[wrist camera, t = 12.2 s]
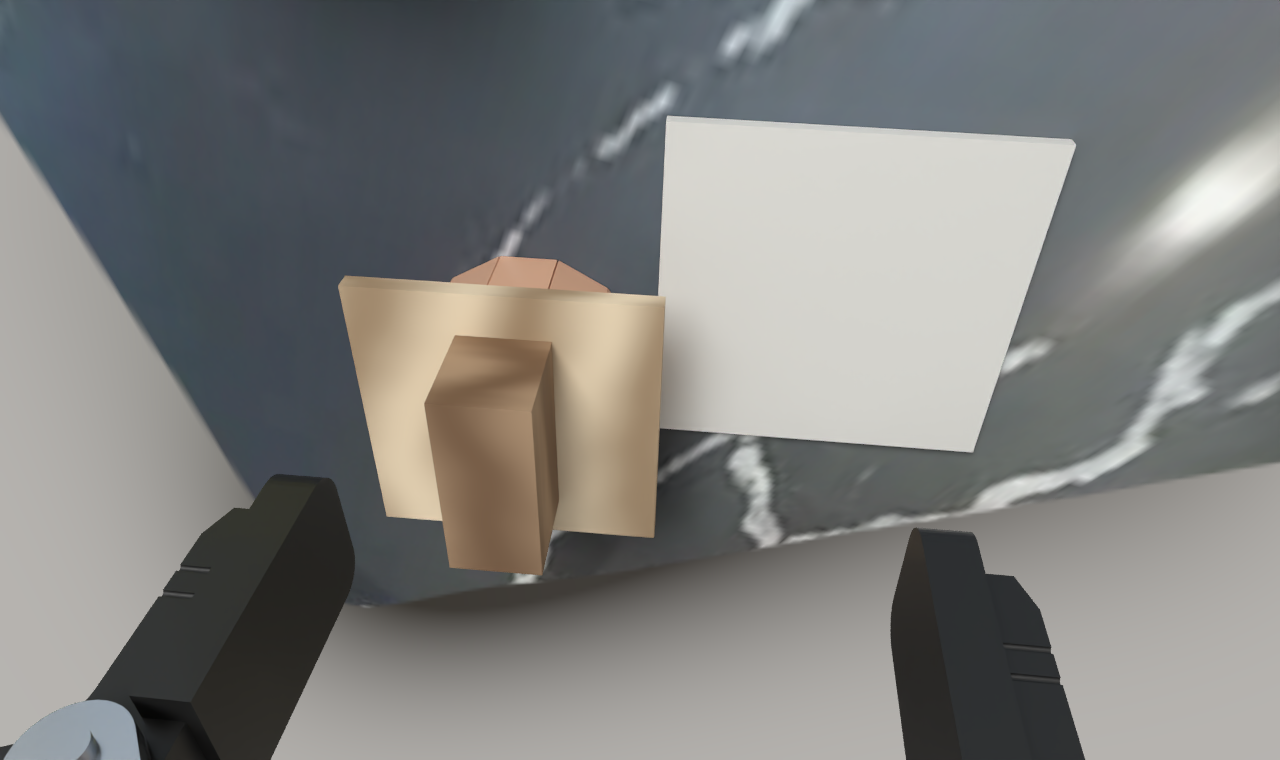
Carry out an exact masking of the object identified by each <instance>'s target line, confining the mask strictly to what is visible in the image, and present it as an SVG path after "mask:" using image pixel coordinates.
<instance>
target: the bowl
mask: <svg viewBox="0 0 1280 760" xmlns="http://www.w3.org/2000/svg"><path fill="white" fill-rule="evenodd" d="M450 283H464V284H480V285H495V286H510V287H526V288H541V289H556V290H571V291H587V292H602V293H611V292H610V290H608V288H606V287H605V286H603V285H601V284H599V283H598V282H596V281H594V280H592V279H591V278H589V277H587V276H585V275H584V274H582V273H580V272H578V271H577V270H575V269H573V268H571V267H569V266H568V265H566V264H564V263H562V262H561V261H558V262H557V260H551V259H536V258H521V257H507V256H500V257H497V258H494V259H492V260H490V261H488V262H486V263H484V264H482V265H479V266H477V267H475V268H473V269H471V270H469V271H467V272H464V273H462V274H460V275H458V276H456V277H454V278H453V279H452V280H451V282H450Z"/></svg>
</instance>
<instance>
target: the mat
mask: <svg viewBox="0 0 1280 760" xmlns="http://www.w3.org/2000/svg"><path fill="white" fill-rule="evenodd" d="M1075 147H1076V144H1075V143H1074V142H1073V140H1072V139H1058V138H1040V137H1023V136H1006V135H989V134H972V133H955V132H938V131H920V130H903V129H886V128H869V127H852V126H835V125H818V124H800V123H783V122H766V121H749V120H732V119H715V118H698V117H680V116H667V120H666V139H665V160H664V182H663V204H662V226H661V248H660V270H659V291H658V296H663V297H666V302H665V324H664V345H663V367H662V389H661V410H660V428H663V429H676V430H689V431H702V432H715V433H728V434H741V435H754V436H767V437H780V438H792V439H805V440H818V441H831V442H844V443H857V444H870V445H883V446H896V447H909V448H922V449H935V450H948V451H961V452H973V450H974V447H975V444H976V441H977V438H978V435H979V432H980V429H981V426H982V423H983V420H984V418H985V415H986V412H987V409H988V406H989V403H990V400H991V397H992V394H993V391H994V388H995V385H996V382H997V379H998V376H999V373H1000V370H1001V367H1002V364H1003V361H1004V358H1005V355H1006V352H1007V349H1008V346H1009V343H1010V340H1011V337H1012V334H1013V331H1014V328H1015V325H1016V323H1017V320H1018V317H1019V314H1020V311H1021V308H1022V305H1023V302H1024V299H1025V296H1026V293H1027V290H1028V287H1029V284H1030V281H1031V278H1032V275H1033V272H1034V269H1035V266H1036V263H1037V260H1038V257H1039V254H1040V251H1041V248H1042V245H1043V242H1044V239H1045V236H1046V233H1047V230H1048V228H1049V225H1050V222H1051V219H1052V216H1053V213H1054V210H1055V207H1056V204H1057V201H1058V198H1059V195H1060V192H1061V189H1062V186H1063V183H1064V180H1065V177H1066V174H1067V171H1068V168H1069V165H1070V162H1071V159H1072V156H1073V153H1074V150H1075Z"/></svg>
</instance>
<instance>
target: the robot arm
mask: <svg viewBox="0 0 1280 760" xmlns="http://www.w3.org/2000/svg"><path fill="white" fill-rule="evenodd" d="M354 569H355V555H354V549H353V545H352V542H351V538H350V534H349V531H348V527H347V524H346V520H345V517H344V513H343V510H342V506H341V503H340V499H339V496H338V492H337V489H336V486H335V484H334V482H333V481H332V480H331V479H329V478H321V477H308V476H296V475H284V474H276V475H274V476H272V477H271V478H270V479H269V480H268V481H267V483H266V484H265V485H264V487H263V488H262V490H261V492H260V493H259V495H258V496H257V498H256V499H255V501H254V502H253V504H252V506H251V507H250V509H242V508H234V509H232V510H231V511H230V512H228V513H227V514H226V515H225V516H223V517H222V518H221V519H220V520H218V521H217V522H216V523H214V524H213V525H212V526H211V527H210V528H208V529H207V530H206V531H204V532H203V533H202V534H201V535H200V537H199V538H198V540H197V541H196V543H195V544H194V546H193V547H192V549H191V550H190V551H189V553H188V554H187V556H186V557H185V559H184V560H183V562H182V563H181V568H180V570H179V571H176V572H175V573H174V575H173V576H172V578H171V579H170V581H169V582H168V584H167V585H166V586H165V588H164V589H163V592H164V593H163V595H162V597H158V598H157V600H156V601H155V603H154V604H153V605H152V607H151V608H150V610H149V611H148V613H147V614H146V616H145V617H144V619H143V620H142V622H141V623H140V624H139V626H138V627H137V629H136V630H135V632H134V633H133V635H132V636H131V638H130V639H129V641H128V642H127V643H126V645H125V646H124V648H123V649H122V651H121V652H120V654H119V655H118V657H117V658H116V660H115V661H114V663H113V664H112V665H111V667H110V668H109V670H108V671H107V673H106V674H105V676H104V677H103V679H102V680H101V681H100V683H99V684H98V686H97V687H96V689H95V690H94V692H93V693H92V694H91V695H90V697H89V698H88V699H87V700H86V701H83V702H78V703H74V704H71V705H68V706H66V707H63V708H61V709H59V710H57V711H54V712H52V713H51V714H49V715H47V716H46V717H44V718H42V719H41V720H39V721H38V722H37V723H35V724H34V725H33V726H31V727H30V728H29V729H28V730H27V731H26V732H25V733H24V734H22V735H21V737H20V738H19V739H18V740H17V741H16V742H15V743H14V744H12V745H8V746H4V747H0V760H271V757H272V755H273V753H274V751H275V749H276V747H277V745H278V742H279V740H280V738H281V736H282V734H283V732H284V730H285V728H286V725H287V724H288V721H289V719H290V717H291V715H292V713H293V711H294V709H295V706H296V704H297V702H298V700H299V698H300V696H301V694H302V692H303V689H304V688H305V685H306V683H307V681H308V679H309V677H310V675H311V673H312V670H313V668H314V666H315V664H316V662H317V660H318V658H319V656H320V654H321V652H322V649H323V647H324V645H325V643H326V641H327V639H328V637H329V634H330V632H331V630H332V628H333V626H334V624H335V622H336V620H337V618H338V616H339V613H340V611H341V609H342V607H343V605H344V603H345V601H346V599H347V596H348V594H349V592H350V589H351V585H352V581H353V577H354ZM891 648H892V655H893V662H894V671H895V678H896V686H897V694H898V701H899V709H900V716H901V724H902V732H903V739H904V747H905V754H906V760H1085V758H1084V754H1083V751H1082V748H1081V744H1080V741H1079V738H1078V735H1077V731H1076V728H1075V725H1074V721H1073V718H1072V715H1071V711H1070V708H1069V705H1068V702H1067V698H1066V695H1065V691H1064V688H1063V685H1060V675H1059V672H1058V668H1057V665H1056V661H1055V658H1054V655H1053V654H1051V645H1050V642H1049V638H1048V635H1047V632H1046V628H1045V625H1044V622H1043V618H1042V615H1041V612H1040V609H1039V608H1038V607H1037V606H1036V604H1035V603H1034V602H1033V600H1032V599H1031V598H1030V597H1029V595H1028V594H1027V593H1026V591H1025V590H1024V589H1023V588H1022V586H1021V585H1020V584H1019V583H1018V581H1017V580H1016V579H1015V577H1014V576H1005V575H993V574H985V570H984V567H983V562H982V558H981V554H980V550H979V546H978V543H977V540H976V537H975V535H974V534H973V533H972V532H962V531H950V530H937V529H925V528H914V529H913V530H912V532H911V535H910V538H909V542H908V546H907V549H906V553H905V557H904V561H903V565H902V568H901V572H900V576H899V580H898V584H897V587H896V591H895V595H894V600H893V604H892V612H891Z"/></svg>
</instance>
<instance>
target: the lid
mask: <svg viewBox="0 0 1280 760" xmlns="http://www.w3.org/2000/svg"><path fill="white" fill-rule="evenodd" d="M338 288H339V292H340V297H341V302H342V306H343V311H344V316H345V321H346V325H347V330H348V335H349V340H350V344H351V349H352V354H353V359H354V363H355V368H356V373H357V377H358V382H359V387H360V392H361V396H362V401H363V406H364V411H365V415H366V420H367V425H368V429H369V434H370V439H371V444H372V448H373V453H374V458H375V463H376V467H377V472H378V477H379V481H380V486H381V491H382V496H383V500H384V505H385V510H386V515H387V516H389V517H401V518H413V519H426V520H438V521H443V527H444V533H445V540H446V546H447V552H448V558H449V565H450V568H462V569H474V570H486V571H497V572H509V573H521V574H533V575H542V574H543V570H544V565H545V561H546V556H547V552H548V547H549V543H550V539H551V534H552V530H562V531H575V532H587V533H599V534H612V535H624V536H636V537H649V538H654V532H655V518H656V496H657V475H658V453H659V432H660V410H661V389H662V367H663V345H664V324H665V302H666V297H663V296H648V295H633V294H617V293H602V292H587V291H571V290H556V289H541V288H526V287H510V286H495V285H480V284H464V283H449V282H434V281H418V280H403V279H388V278H373V277H357V276H345V277H344V278H343V280H342V281H341V283H340V284H339V285H338Z"/></svg>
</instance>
